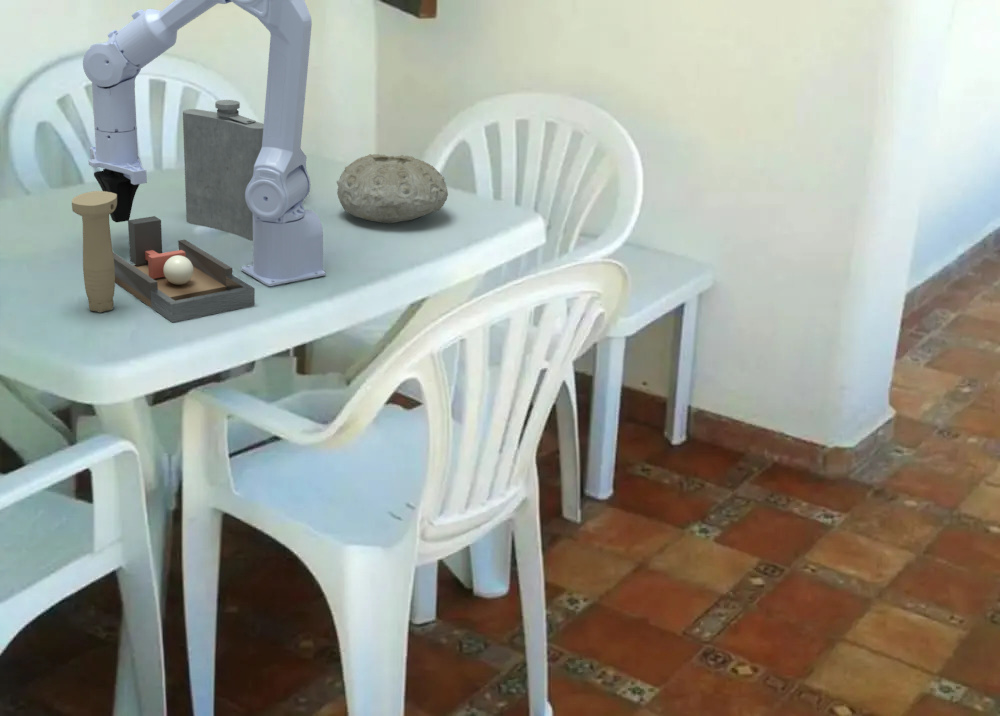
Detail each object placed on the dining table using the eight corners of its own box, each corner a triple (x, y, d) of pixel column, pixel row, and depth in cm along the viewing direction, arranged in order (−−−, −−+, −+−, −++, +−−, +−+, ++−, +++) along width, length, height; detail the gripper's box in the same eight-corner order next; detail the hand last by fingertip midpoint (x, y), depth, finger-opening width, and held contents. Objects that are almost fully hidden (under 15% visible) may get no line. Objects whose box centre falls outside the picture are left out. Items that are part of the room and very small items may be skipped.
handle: (71, 314, 173) (63, 202, 168) (97, 298, 179) (90, 189, 173) (105, 319, 172) (98, 207, 167) (130, 303, 178) (124, 194, 172)
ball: (185, 277, 186) (184, 249, 184) (199, 285, 183) (198, 258, 181) (158, 282, 183) (157, 254, 182) (172, 290, 180) (171, 262, 179)
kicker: (159, 255, 192) (157, 215, 190) (186, 272, 186) (184, 231, 184) (126, 261, 189) (124, 220, 187) (152, 278, 183) (150, 236, 181)
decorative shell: (376, 195, 231) (377, 138, 227) (466, 214, 224) (469, 156, 220) (315, 219, 216) (315, 159, 212) (409, 241, 209) (412, 179, 205)
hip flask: (182, 221, 212) (177, 95, 204) (200, 215, 215) (196, 91, 207) (259, 242, 204) (257, 112, 196) (277, 236, 207) (276, 108, 200)
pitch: (185, 262, 194) (184, 239, 193) (232, 292, 184) (232, 267, 183) (106, 276, 187) (105, 252, 185) (151, 308, 177) (150, 283, 176)
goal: (232, 292, 184) (232, 274, 183) (254, 305, 180) (254, 288, 179) (151, 308, 177) (150, 290, 176) (172, 322, 173) (171, 304, 172)
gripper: (67, 119, 191) (73, 210, 197) (110, 142, 181) (115, 238, 187) (114, 114, 196) (118, 204, 201) (159, 137, 185) (162, 230, 191)
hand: (120, 220), depth 194 cm, fingers closed
